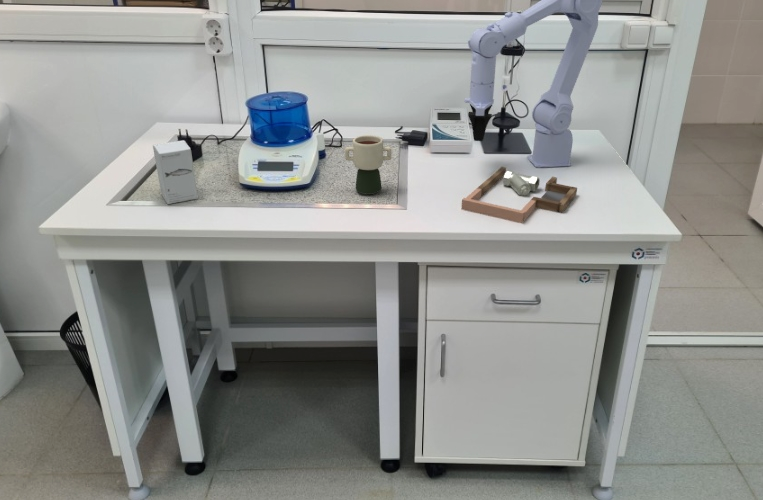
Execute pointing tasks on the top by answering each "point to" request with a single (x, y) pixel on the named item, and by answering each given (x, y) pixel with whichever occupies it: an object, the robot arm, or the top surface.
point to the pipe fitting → (521, 182)
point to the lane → (551, 200)
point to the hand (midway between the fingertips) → (478, 135)
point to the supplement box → (175, 171)
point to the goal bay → (496, 208)
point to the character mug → (368, 162)
